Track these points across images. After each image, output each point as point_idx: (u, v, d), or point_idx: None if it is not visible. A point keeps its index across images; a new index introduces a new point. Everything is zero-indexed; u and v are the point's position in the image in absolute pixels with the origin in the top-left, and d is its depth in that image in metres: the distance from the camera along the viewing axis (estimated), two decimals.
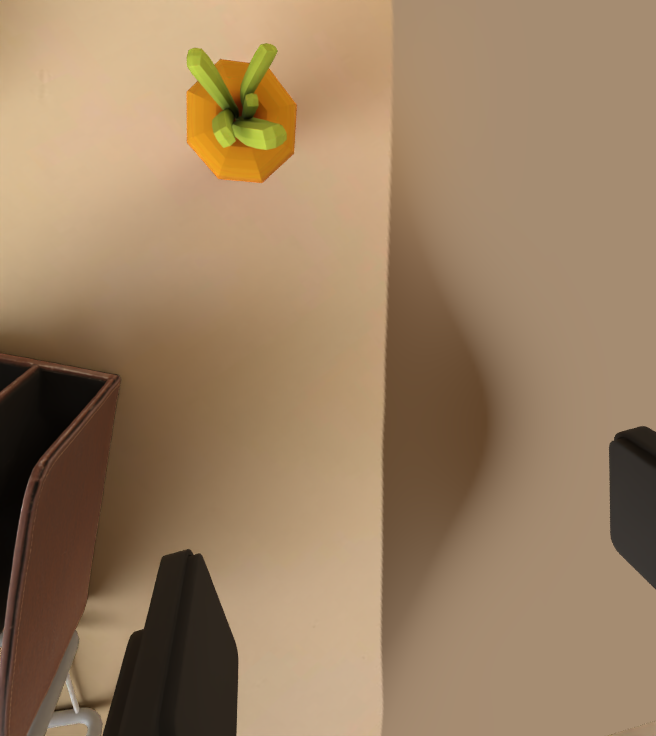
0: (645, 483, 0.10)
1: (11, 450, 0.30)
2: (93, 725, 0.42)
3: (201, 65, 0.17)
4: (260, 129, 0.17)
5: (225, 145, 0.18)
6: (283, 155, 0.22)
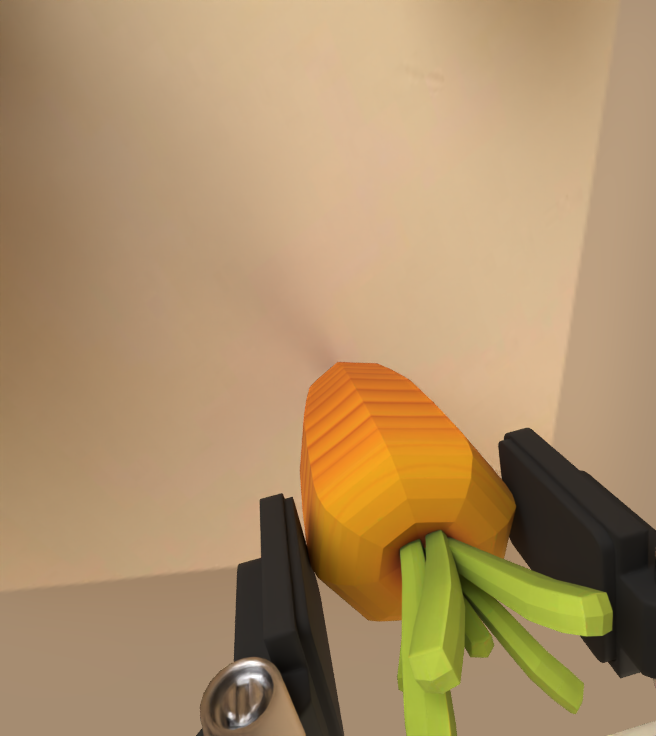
0: (522, 480, 0.11)
1: None
2: None
3: (583, 635, 0.07)
4: None
5: (414, 667, 0.08)
6: (359, 610, 0.11)
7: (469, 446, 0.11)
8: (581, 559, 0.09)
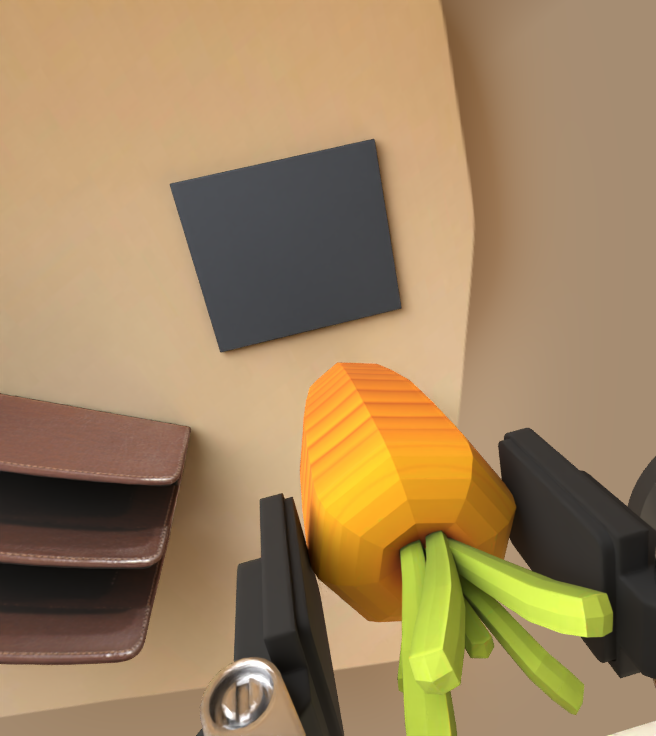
0: (522, 480, 0.11)
1: None
2: None
3: (583, 636, 0.07)
4: None
5: (415, 668, 0.08)
6: (359, 611, 0.11)
7: (469, 447, 0.11)
8: (581, 559, 0.09)
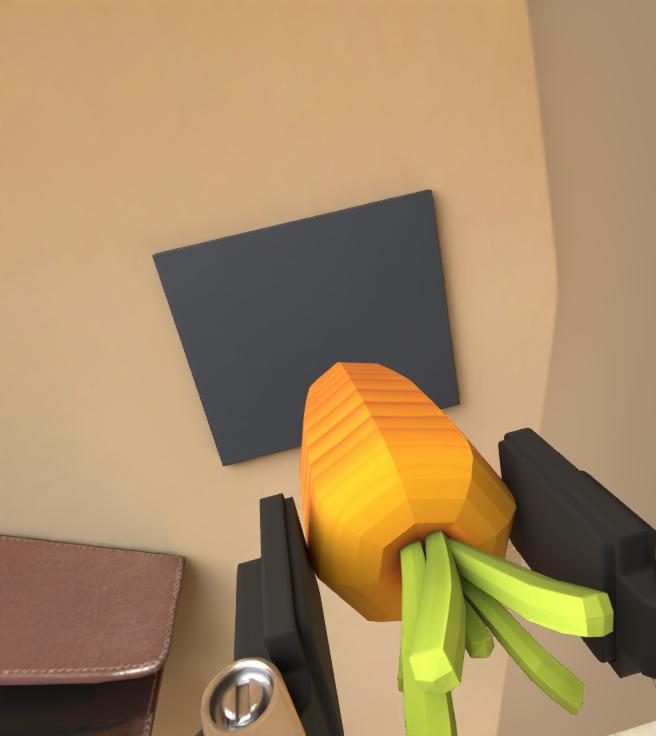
0: (522, 480, 0.11)
1: None
2: None
3: None
4: None
5: (415, 668, 0.08)
6: (359, 611, 0.11)
7: (469, 446, 0.11)
8: (581, 559, 0.09)
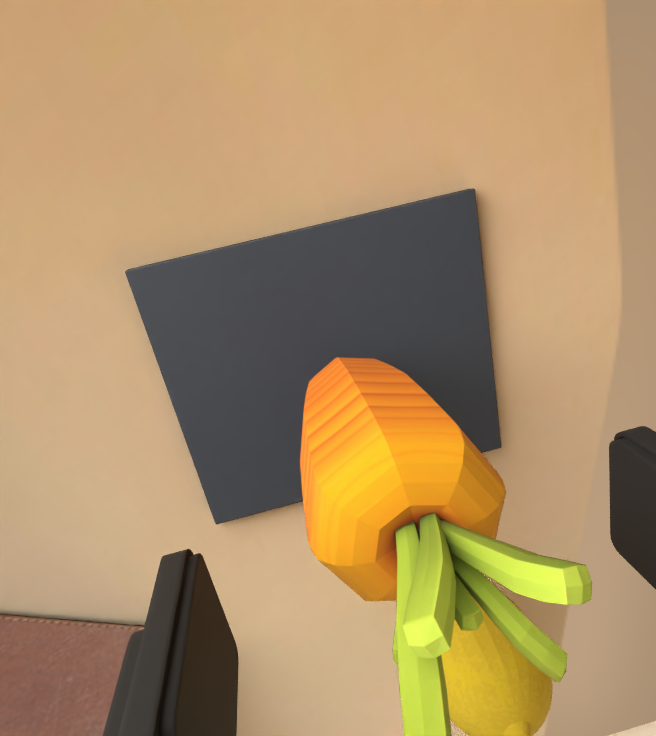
0: (645, 483, 0.10)
1: None
2: None
3: (564, 603, 0.08)
4: (445, 727, 0.08)
5: (408, 634, 0.08)
6: (356, 591, 0.12)
7: (461, 434, 0.11)
8: None
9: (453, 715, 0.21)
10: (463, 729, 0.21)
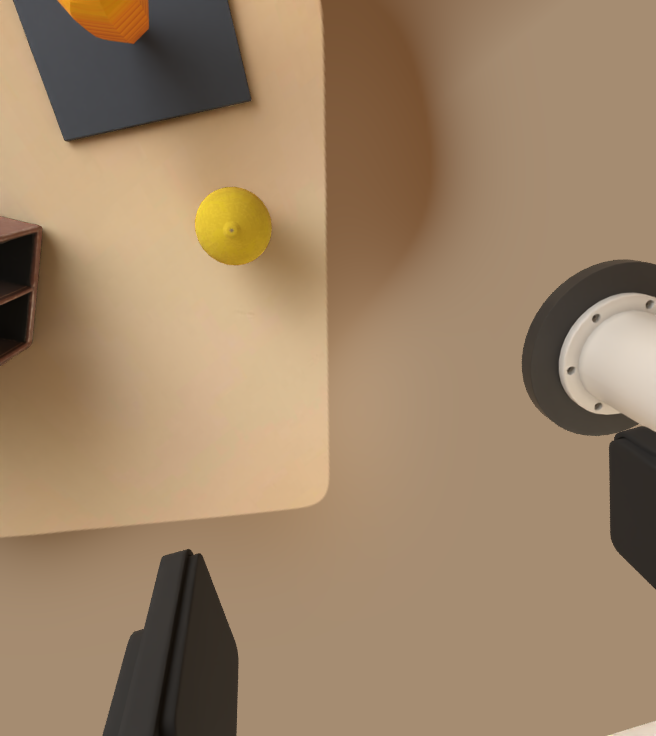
0: (645, 483, 0.10)
1: None
2: None
3: None
4: None
5: None
6: (63, 1, 0.26)
7: None
8: None
9: (201, 235, 0.35)
10: (207, 243, 0.35)
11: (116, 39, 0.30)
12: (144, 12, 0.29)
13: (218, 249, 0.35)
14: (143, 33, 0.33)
